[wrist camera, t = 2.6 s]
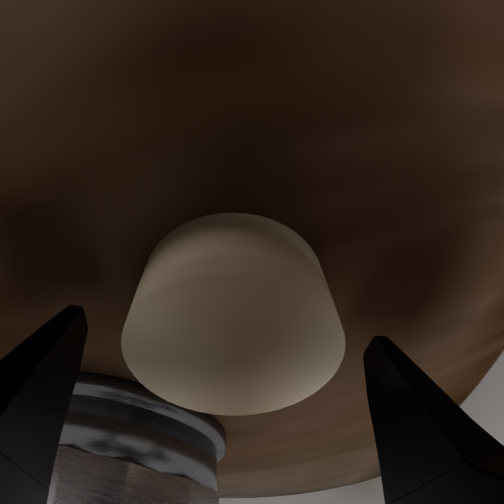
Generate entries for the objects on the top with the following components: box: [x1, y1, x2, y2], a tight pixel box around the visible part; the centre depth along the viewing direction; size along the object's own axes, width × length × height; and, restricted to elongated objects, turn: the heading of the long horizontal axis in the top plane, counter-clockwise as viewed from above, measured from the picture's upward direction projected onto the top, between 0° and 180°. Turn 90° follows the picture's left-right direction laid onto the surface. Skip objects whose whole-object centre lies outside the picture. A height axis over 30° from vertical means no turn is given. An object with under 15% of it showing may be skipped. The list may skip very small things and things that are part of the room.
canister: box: [47, 373, 225, 504], centre depth 13 cm, size 12×12×7 cm
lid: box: [121, 212, 346, 416], centre depth 9 cm, size 6×6×3 cm
